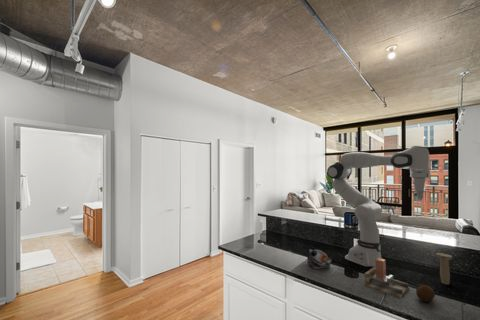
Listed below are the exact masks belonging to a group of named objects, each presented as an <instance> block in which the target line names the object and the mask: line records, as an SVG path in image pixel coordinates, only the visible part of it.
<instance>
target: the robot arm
mask: <svg viewBox="0 0 480 320" xmlns="http://www.w3.org/2000/svg"><path fill="white" fill-rule="evenodd" d="M430 160H431V159H430V152H429V149H428V148H427V147H425V146H420V145H412V146H410V147H409V148H407V149H405V150H403V151H400V152H396V153H394V154H392V155H377V154H373V153H369V152H363V151H353V152H352V151H351V152H346V153H343V154H342V155H341V156H340V161H339V162H338V161H337V162H335V163H332V164H331V165H329V167H328V168H327V171H326V173H327V176H328V177H329V178H331V179H334V180H332V183H331V187H332V188H333V190H334V191H335V192H336V193H337V195H339V196H340V197H341V198H342V199H343V200H344V201H345V202H346V203H347V204H349V206H353V207H354V208H355V209H354V215H355V217H356V218H357V221H358V225H359V238H358V239H357V240H356V243H357V244H356V245H354V246H352V247H351V248H349V250H348V254H345V256H344V259H345V260H347V261H349V262H353V263H355V264H358V265H360V266H363V267H372V268H373V267H376V262H375V259H377V258H380V259H382V255H381V250H382V246H381V241H380V229H379V227H378V225H377V221H376V220H377V218H379V217H380V216H381V215H382V212H383V209H382V207H381V206H382V205H380V204H379V203H377V202H375V201H374V200H372V199H370V198H369V197H368V196H366V195H364V194H363V193H361V192H360V191H359V190H358V189H357V188H355V187H354V186H353V185H352V184H351V183H350V182H348V180H349V179H350V177H351V175H352V173H353V169H364V168H365V169H366V168H373V167H379V166H391V167H394V168H396V169H399V170H400V169H405V170H409V173H410V175H409V177H410V178H412V181H413V186H414V191H415V192H416V193H417V200H419V201H422V200H423V199H424V192H425V190H426V181H428V178H431V168H430V162H431V161H430Z"/></svg>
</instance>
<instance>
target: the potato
mask: <svg viewBox="0 0 480 320" xmlns="http://www.w3.org/2000/svg"><path fill="white" fill-rule="evenodd" d="M415 292H416V293H415V294H416V297H417V298H418V299H419V300H420V301H421V302H425V303H426V302H430V301H432V300H433V299H434V298H435V296H436V294H435V290H434V289H433V288H432V287H431V286H429V285H427V284H420V285H419V286H418V287H416V290H415Z"/></svg>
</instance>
